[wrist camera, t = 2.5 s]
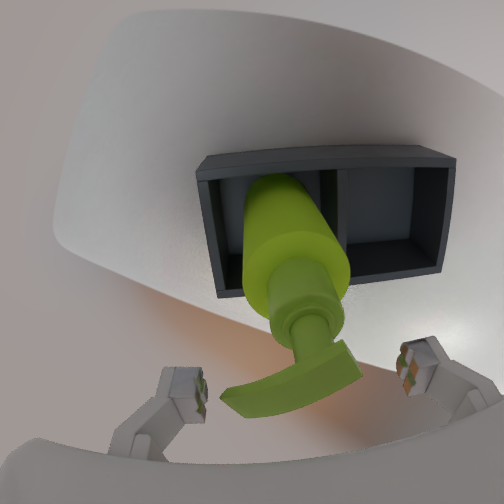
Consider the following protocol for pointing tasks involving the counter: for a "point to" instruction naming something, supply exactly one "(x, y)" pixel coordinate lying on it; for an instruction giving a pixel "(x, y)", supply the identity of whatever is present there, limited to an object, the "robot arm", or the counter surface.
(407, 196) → the storage box
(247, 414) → the soap dispenser
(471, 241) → the counter surface
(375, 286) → the counter surface
